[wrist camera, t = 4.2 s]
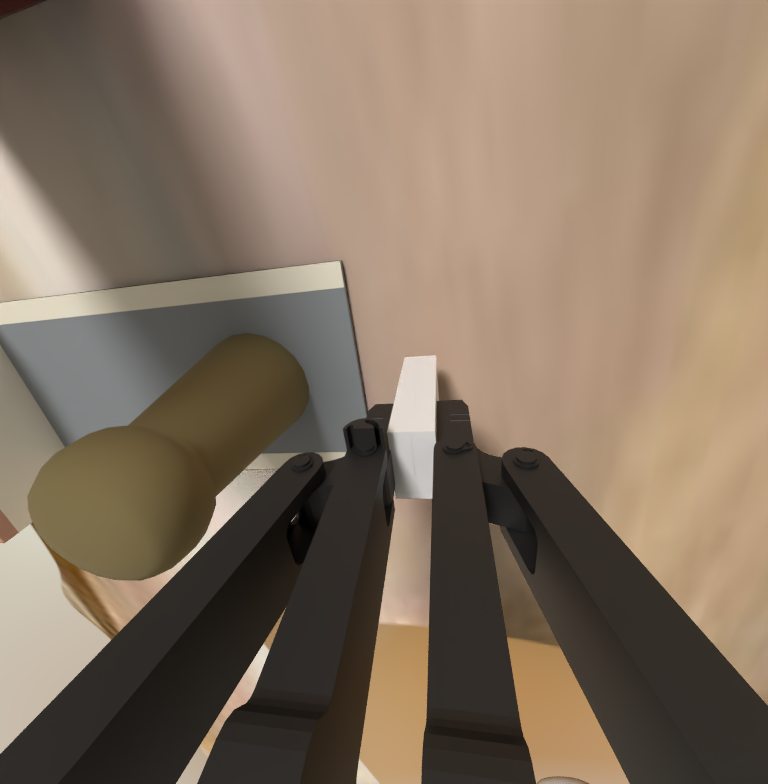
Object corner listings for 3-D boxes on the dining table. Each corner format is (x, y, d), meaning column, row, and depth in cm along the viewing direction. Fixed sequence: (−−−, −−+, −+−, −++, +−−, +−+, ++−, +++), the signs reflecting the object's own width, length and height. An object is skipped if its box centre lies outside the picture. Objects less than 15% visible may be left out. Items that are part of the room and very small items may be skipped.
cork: (221, 427, 22) (43, 599, 12) (195, 332, 19) (-64, 455, 9) (315, 431, 21) (206, 621, 11) (301, 333, 18) (140, 469, 8)
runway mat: (375, 464, 22) (375, 467, 21) (83, 468, 26) (79, 470, 25) (341, 260, 16) (339, 260, 16) (-19, 304, 20) (-25, 305, 20)
